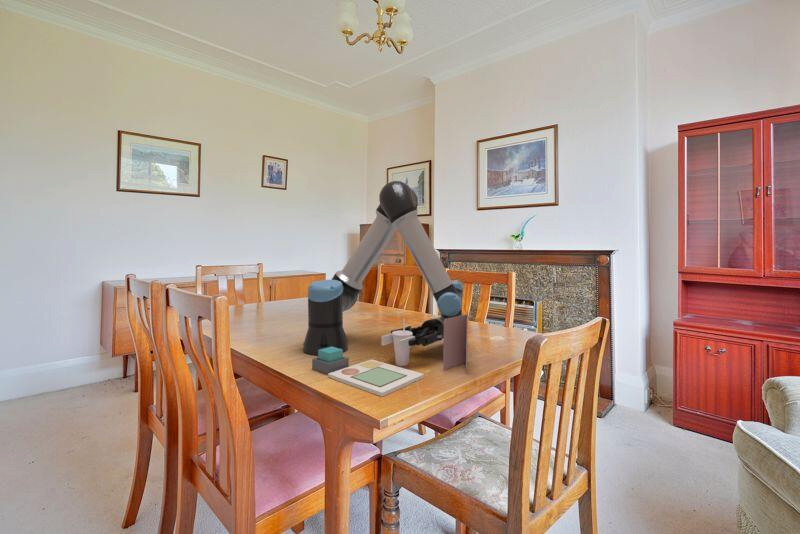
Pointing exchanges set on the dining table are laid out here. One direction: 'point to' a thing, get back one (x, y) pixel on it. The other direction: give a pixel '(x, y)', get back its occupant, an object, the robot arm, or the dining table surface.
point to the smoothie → (400, 355)
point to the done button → (330, 354)
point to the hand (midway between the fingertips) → (391, 342)
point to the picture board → (376, 377)
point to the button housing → (329, 365)
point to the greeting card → (455, 341)
